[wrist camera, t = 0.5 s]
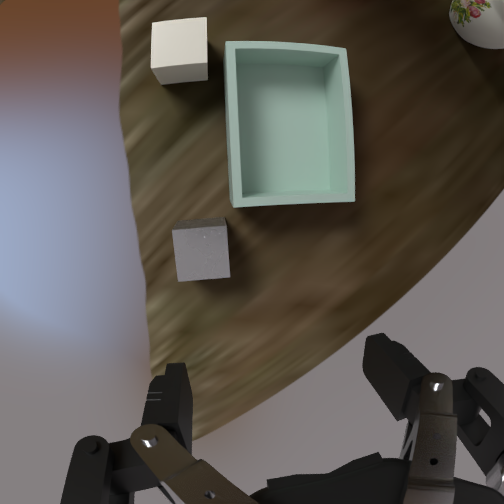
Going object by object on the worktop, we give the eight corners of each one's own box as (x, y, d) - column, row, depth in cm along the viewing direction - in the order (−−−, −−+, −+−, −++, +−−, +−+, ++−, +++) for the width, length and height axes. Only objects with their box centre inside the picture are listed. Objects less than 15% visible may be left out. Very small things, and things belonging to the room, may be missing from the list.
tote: (223, 60, 28) (225, 41, 23) (326, 63, 29) (345, 48, 24) (230, 200, 32) (233, 207, 27) (333, 195, 33) (354, 201, 28)
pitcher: (474, -4, 26) (523, -23, 13) (490, 77, 31) (551, 69, 18) (429, -31, 25) (478, -61, 12) (445, 53, 30) (512, 33, 17)
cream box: (161, 45, 26) (152, 22, 21) (206, 40, 27) (206, 17, 21) (161, 84, 28) (150, 68, 22) (207, 80, 28) (207, 62, 23)
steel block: (177, 220, 32) (172, 230, 27) (224, 216, 33) (226, 225, 28) (182, 265, 34) (178, 281, 29) (227, 261, 34) (230, 277, 29)
